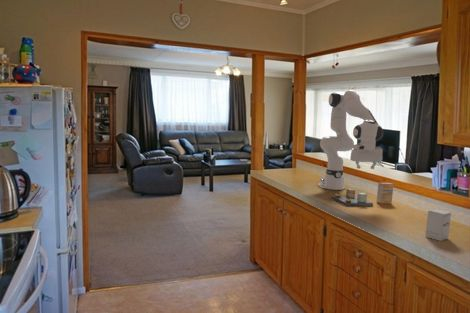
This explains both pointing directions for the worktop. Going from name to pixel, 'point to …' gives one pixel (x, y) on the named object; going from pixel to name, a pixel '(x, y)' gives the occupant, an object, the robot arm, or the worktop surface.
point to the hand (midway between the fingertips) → (365, 168)
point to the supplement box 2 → (438, 224)
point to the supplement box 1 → (385, 193)
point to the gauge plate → (343, 198)
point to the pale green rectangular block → (362, 197)
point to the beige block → (350, 193)
